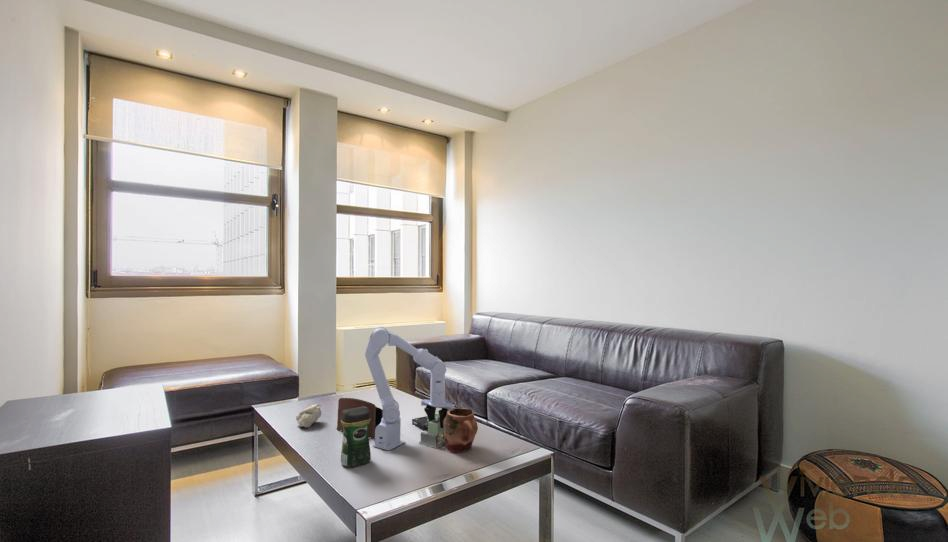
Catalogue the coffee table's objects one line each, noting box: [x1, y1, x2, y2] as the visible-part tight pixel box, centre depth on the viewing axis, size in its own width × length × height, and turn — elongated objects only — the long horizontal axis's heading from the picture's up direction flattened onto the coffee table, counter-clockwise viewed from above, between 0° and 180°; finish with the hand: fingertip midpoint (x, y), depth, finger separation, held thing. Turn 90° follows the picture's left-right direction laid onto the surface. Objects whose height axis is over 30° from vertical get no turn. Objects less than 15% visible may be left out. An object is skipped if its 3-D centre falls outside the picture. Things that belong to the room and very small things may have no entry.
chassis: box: [418, 431, 446, 449], centre depth 170 cm, size 12×8×4 cm, turn 149°
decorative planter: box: [443, 407, 479, 454], centre depth 162 cm, size 20×12×14 cm, turn 31°
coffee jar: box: [340, 406, 372, 468], centre depth 150 cm, size 10×8×19 cm
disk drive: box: [411, 413, 440, 432], centre depth 189 cm, size 10×3×15 cm
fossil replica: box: [295, 403, 322, 429], centre depth 187 cm, size 12×8×10 cm
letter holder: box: [336, 397, 383, 439], centre depth 181 cm, size 10×20×14 cm, turn 62°
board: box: [427, 417, 444, 435], centre depth 171 cm, size 7×4×5 cm, turn 149°
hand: (437, 426), depth 170 cm, fingers closed on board, 4 cm apart
